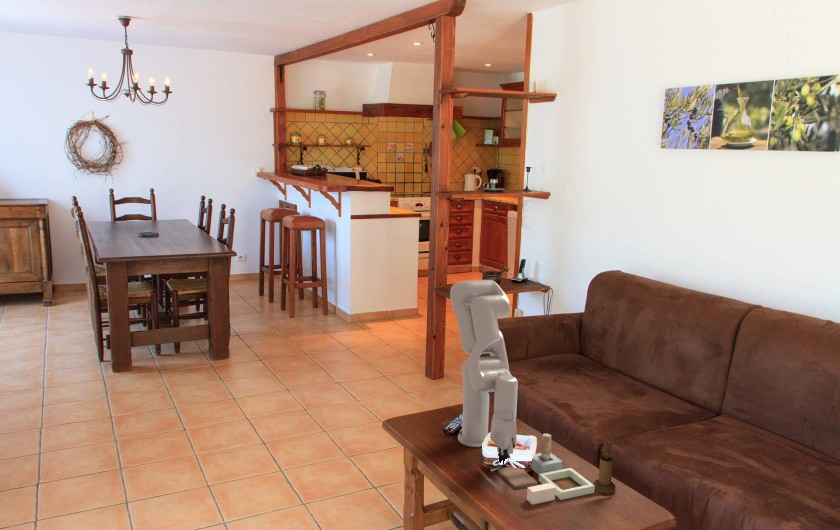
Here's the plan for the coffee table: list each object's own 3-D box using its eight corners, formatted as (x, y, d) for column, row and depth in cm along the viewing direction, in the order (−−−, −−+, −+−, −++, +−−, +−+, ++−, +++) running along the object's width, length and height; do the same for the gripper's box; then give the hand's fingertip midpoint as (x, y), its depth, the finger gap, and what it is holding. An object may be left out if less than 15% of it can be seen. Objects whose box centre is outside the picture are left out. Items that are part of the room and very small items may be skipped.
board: (497, 475, 212) (497, 468, 211) (518, 472, 214) (518, 465, 214) (514, 493, 200) (515, 486, 200) (537, 489, 203) (537, 482, 203)
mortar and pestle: (599, 497, 199) (603, 443, 196) (589, 486, 205) (593, 434, 202) (618, 495, 200) (623, 441, 197) (608, 485, 206) (612, 432, 203)
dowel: (538, 468, 214) (540, 434, 212) (546, 466, 215) (548, 433, 213) (543, 472, 212) (545, 438, 210) (551, 470, 213) (553, 436, 211)
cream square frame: (538, 483, 206) (539, 474, 206) (570, 477, 211) (571, 467, 210) (560, 502, 195) (561, 492, 194) (594, 495, 199) (594, 485, 199)
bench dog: (526, 502, 194) (527, 487, 194) (548, 497, 197) (549, 482, 197) (531, 507, 192) (532, 492, 191) (554, 502, 195) (555, 487, 194)
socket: (528, 468, 216) (528, 454, 215) (548, 464, 219) (549, 451, 218) (541, 479, 209) (542, 465, 208) (561, 475, 212) (562, 461, 211)
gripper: (484, 406, 218) (482, 456, 221) (506, 422, 204) (504, 476, 207) (503, 403, 221) (501, 453, 224) (526, 419, 207) (524, 472, 210)
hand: (502, 464), depth 216 cm, fingers closed
